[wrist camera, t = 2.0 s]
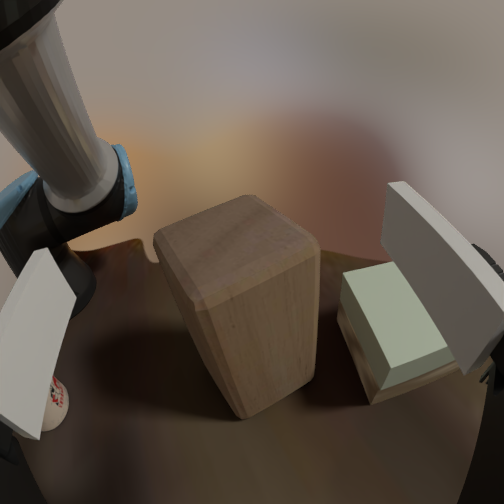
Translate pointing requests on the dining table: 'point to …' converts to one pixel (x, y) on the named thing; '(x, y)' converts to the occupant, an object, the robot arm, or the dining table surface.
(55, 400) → the teacup with lid
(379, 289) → the tower top slab
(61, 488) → the dining table surface
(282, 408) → the dining table surface
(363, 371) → the tower base slab
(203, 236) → the block
